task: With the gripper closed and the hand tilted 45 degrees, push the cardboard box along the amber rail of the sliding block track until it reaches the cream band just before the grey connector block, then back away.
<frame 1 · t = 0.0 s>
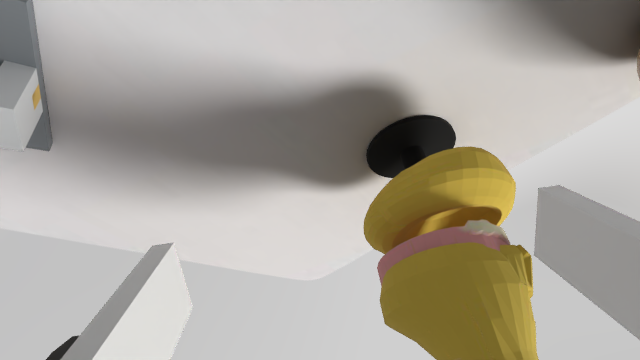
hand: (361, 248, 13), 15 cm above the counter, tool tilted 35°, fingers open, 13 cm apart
toy: (414, 154, 34), on the counter
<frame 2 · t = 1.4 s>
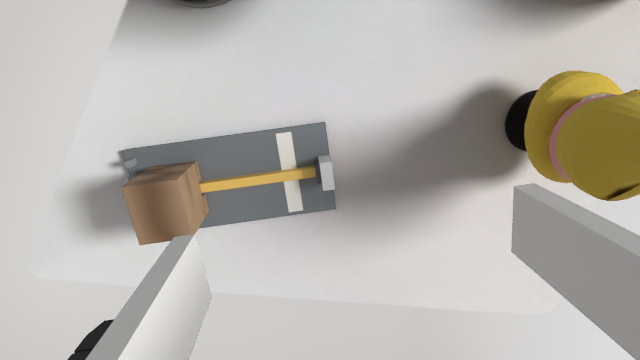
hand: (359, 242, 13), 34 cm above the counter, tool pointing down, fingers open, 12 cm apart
sliding block track: (234, 179, 48), on the counter
toy: (543, 125, 48), on the counter
cardboard box: (170, 200, 43), point 5 cm above the counter, slide at -7.0 cm
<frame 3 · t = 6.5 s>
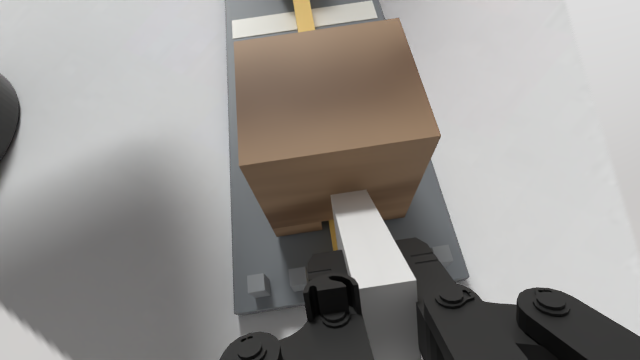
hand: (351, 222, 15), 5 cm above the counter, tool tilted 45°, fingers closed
sliding block track: (317, 103, 24), on the counter
cardboard box: (330, 140, 17), point 5 cm above the counter, slide at -6.4 cm, touching gripper
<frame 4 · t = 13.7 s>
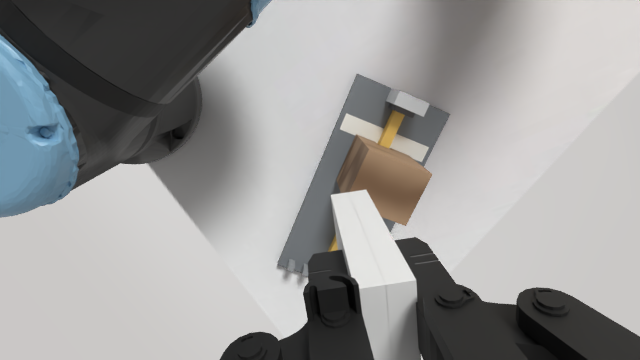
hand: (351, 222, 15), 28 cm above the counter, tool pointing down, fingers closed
sliding block track: (358, 191, 45), on the counter
cardboard box: (379, 177, 39), point 5 cm above the counter, slide at 3.7 cm
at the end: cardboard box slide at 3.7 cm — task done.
